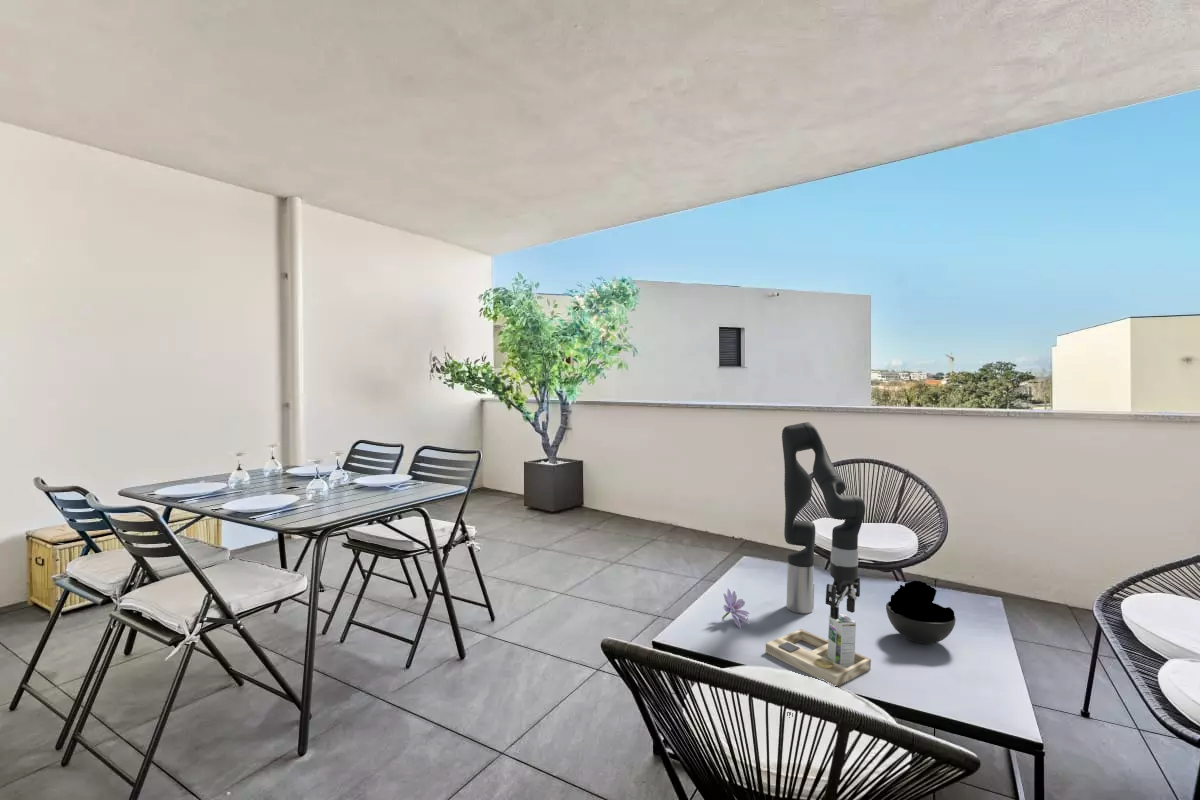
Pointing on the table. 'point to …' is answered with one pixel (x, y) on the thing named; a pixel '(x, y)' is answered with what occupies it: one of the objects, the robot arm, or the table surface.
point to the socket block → (815, 658)
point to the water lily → (735, 608)
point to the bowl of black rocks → (919, 614)
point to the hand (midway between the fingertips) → (842, 615)
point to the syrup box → (841, 641)
